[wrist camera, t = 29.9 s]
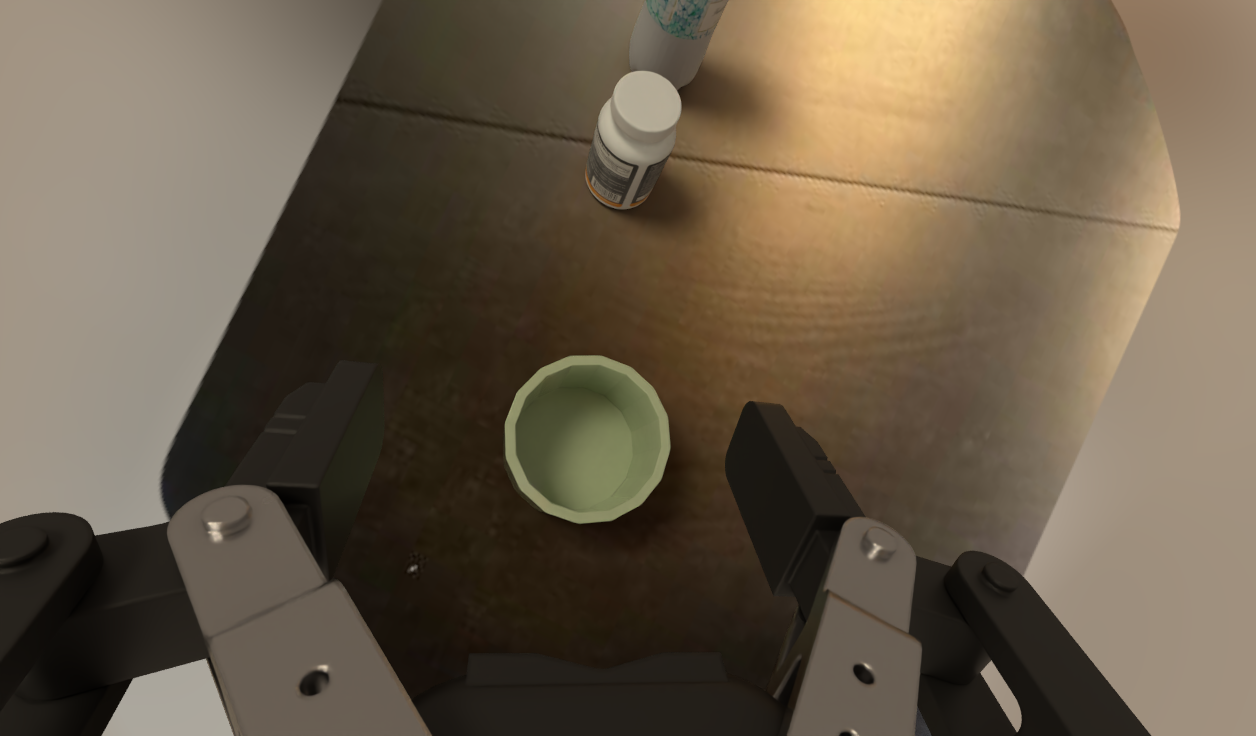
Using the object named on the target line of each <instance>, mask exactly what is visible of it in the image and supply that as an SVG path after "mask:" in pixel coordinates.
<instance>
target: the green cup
mask: <svg viewBox="0 0 1256 736" xmlns="http://www.w3.org/2000/svg"><path fill="white" fill-rule="evenodd" d="M670 448H671V446H670V434H669V422H668V416H667V414H666V412H665V410H664V408H663V405H662V403H661V401H660V399H659V397H658V395H657V393H656V391H655V389H654V388H653V387H652V386H651V385H650V384H649V383H648V382H647V381H646V380H645V379H644V378H642V377H641V376H640V375H639V374H638V373H637V372H636V371H635V370H634V369H633V368H631V367H630V366H627V365H625V364H622V363H619V362H617V361H614V360H612V359H609V358H606V357H604V356H568V357H566V358H564V359H561V360H559V361H557V362H554V363H552V364H550V365H547V366H545V367H543V368H541V369H539V370H538V371H537V372H536V373H535V374H534V375H533V376H532V377H531V378H530V379H529V381H528V382H527V383H526V384H525V385H524V386H523V387H522V388H521V389H520V390H519V391H518V392H517V394H516V396H515V399H514V401H513V404H512V406H511V409H510V411H509V414H508V416H507V419H506V422H505V427H504V434H503V462H504V467H505V469H506V472H507V474H508V476H509V479H510V481H511V483H512V485H513V487H514V489H515V491H516V492H517V493H518V494H519V495H520V496H521V497H522V498H523V499H524V500H525V501H527V502H528V503H529V504H530V505H531V506H532V507H533V508H535V509H536V510H537V511H540V512H543V513H546V514H549V515H552V516H555V517H558V518H561V519H564V520H568V521H571V522H574V523H579V524H581V523H592V522H604V521H611V520H614V519H616V518H618V517H620V516H622V515H623V514H625V513H627V512H629V511H631V510H633V509H635V508H636V507H638V506H640V505H641V504H642V503H643V502H644V501H645V500H646V498H647V497H648V496H649V495H650V493H651V492H652V491H653V490H654V488H655V487H656V486H657V485H658V483H659V482H660V481H661V479H662V476H663V473H664V470H665V466H666V463H667V460H668V456H669V453H670Z"/></svg>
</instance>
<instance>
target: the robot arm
mask: <svg viewBox="0 0 1256 736" xmlns="http://www.w3.org/2000/svg"><path fill="white" fill-rule="evenodd" d="M383 435H384V397H383V371H382V366H381V365H380V364H374V363H364V362H354V361H344V360H341V361H339V362H338V364H337V366H336V367H335V369H334V371H333V372H332V374H331V376H330V377H329V379H328V381H327V382H326V384H324V383H313V382H308V383H306V384H305V385H303V386H301V387H300V388H298V389H297V390H295V391H294V392H292V393H291V394H289V395H287V396H286V397H285V399H284V400H283V402H282V403H281V405H280V406H279V408H278V409H277V411H276V412H275V413H274V418H271V419H270V421H269V422H268V424H267V425H266V427H265V428H264V432H262V433H261V434H260V435H259V437H258V438H257V440H256V441H255V443H254V444H253V446H252V447H251V449H250V450H249V452H248V453H247V455H246V456H245V457H244V459H243V460H242V462H241V463H240V465H239V466H238V468H237V469H236V471H235V472H234V474H233V475H232V476H231V478H230V479H229V481H228V482H227V484H226V485H225V487H222V488H218V489H215V490H212V491H209V492H206V493H204V494H202V495H200V496H198V497H196V498H194V499H193V500H191V501H189V502H188V503H186V504H185V505H184V506H183V507H181V508H180V509H179V510H178V511H177V512H176V513H175V515H174V516H173V517H172V519H171V520H170V522H166V523H163V524H158V525H153V526H149V527H143V528H137V529H131V530H125V531H119V532H114V533H108V534H102V535H96V536H95V535H94V532H93V530H92V528H91V526H90V524H89V523H88V522H87V521H86V520H85V519H83V518H81V517H79V516H76V515H73V514H68V513H56V512H53V513H40V514H33V515H28V516H23V517H19V518H16V519H12V520H9V521H6V522H3V523H1V524H0V736H101V735H102V734H103V731H104V730H105V728H106V727H107V725H108V723H109V721H110V719H111V717H112V716H113V714H114V712H115V710H116V708H117V707H118V705H119V703H120V701H121V699H122V698H123V696H124V694H125V692H126V690H127V689H128V687H129V685H130V683H131V681H132V679H133V678H136V677H139V676H143V675H147V674H150V673H154V672H158V671H161V670H165V669H169V668H172V667H176V666H180V665H183V664H187V663H191V662H194V661H198V660H202V659H205V658H206V660H207V663H208V665H209V668H210V671H211V674H212V676H213V679H214V682H215V685H216V688H217V690H218V693H219V696H220V699H221V701H222V704H223V707H224V710H225V713H226V715H227V718H228V721H229V724H230V726H231V729H232V732H233V734H234V736H915V724H916V713H917V706H918V708H919V710H920V712H921V714H922V716H923V718H924V720H925V722H926V724H927V726H928V728H929V730H930V733H931V735H932V736H1151V735H1150V734H1149V733H1148V731H1147V730H1146V729H1145V727H1144V726H1143V725H1142V724H1141V722H1140V721H1139V720H1138V719H1137V717H1136V716H1135V715H1134V714H1133V712H1132V711H1131V710H1130V709H1129V708H1128V706H1127V705H1126V704H1125V702H1124V701H1123V700H1122V699H1121V697H1120V696H1119V695H1118V694H1117V692H1116V691H1115V690H1114V689H1113V687H1112V686H1111V685H1110V684H1109V682H1108V681H1107V680H1106V679H1105V677H1104V676H1103V675H1102V674H1101V672H1100V671H1099V670H1098V669H1097V667H1096V666H1095V665H1094V664H1093V662H1092V661H1091V660H1090V659H1089V658H1088V656H1087V655H1086V654H1085V653H1084V651H1083V650H1082V649H1081V647H1080V646H1079V645H1078V644H1077V643H1076V641H1075V640H1074V639H1073V637H1072V636H1071V635H1070V634H1069V632H1068V631H1067V630H1066V629H1065V627H1064V626H1063V625H1062V624H1061V622H1060V621H1059V620H1058V619H1057V618H1056V616H1055V615H1054V614H1053V612H1052V611H1051V610H1050V609H1049V607H1048V606H1047V605H1046V604H1045V602H1044V601H1043V600H1042V599H1041V597H1040V596H1039V595H1038V594H1037V593H1036V591H1035V590H1034V589H1033V587H1032V586H1031V585H1030V584H1029V583H1028V581H1027V580H1026V579H1025V578H1024V577H1023V576H1022V575H1021V574H1020V573H1019V572H1017V571H1016V570H1015V569H1014V568H1012V567H1011V566H1010V565H1008V564H1007V563H1005V562H1003V561H1002V560H1000V559H998V558H996V557H994V556H991V555H989V554H986V553H983V552H978V551H966V552H964V553H962V554H961V555H960V556H959V557H958V559H957V560H956V561H955V563H954V564H953V565H952V567H951V566H947V565H944V564H941V563H938V562H934V561H931V560H928V559H924V558H921V557H918V556H915V553H914V551H913V549H912V548H911V546H910V544H909V543H908V542H907V541H906V540H905V539H904V538H903V537H902V536H901V535H900V534H899V533H898V532H896V531H895V530H894V529H892V528H891V527H889V526H887V525H885V524H884V523H882V522H879V521H877V520H874V519H871V518H866V517H865V515H864V514H863V512H862V511H861V509H860V507H859V506H858V504H857V503H856V501H855V500H854V498H853V497H852V495H851V493H850V492H849V490H848V489H847V487H846V486H845V484H844V483H843V481H842V479H841V478H840V476H839V475H838V474H836V470H835V469H834V467H833V465H832V464H831V462H830V461H827V456H826V455H825V453H824V451H823V450H822V448H821V447H820V445H819V444H818V442H817V441H816V440H815V439H814V438H812V437H811V436H810V435H809V434H808V433H807V432H805V431H804V430H803V429H802V428H801V427H796V426H795V425H794V423H793V421H792V420H791V418H790V416H789V415H788V413H787V412H786V410H785V408H784V407H783V406H782V405H781V404H774V403H764V402H754V401H749V402H748V403H746V405H745V406H744V408H743V410H742V413H741V416H740V418H739V421H738V424H737V426H736V429H735V432H734V434H733V437H732V440H731V442H730V445H729V448H728V451H727V454H726V460H725V471H726V477H727V480H728V482H729V485H730V487H731V490H732V492H733V495H734V497H735V500H736V502H737V505H738V507H739V510H740V512H741V515H742V517H743V520H744V523H745V525H746V528H747V530H748V533H749V535H750V538H751V540H752V543H753V545H754V548H755V550H756V553H757V555H758V558H759V560H760V563H761V565H762V568H763V570H764V573H765V575H766V578H767V581H768V583H769V586H770V588H771V591H772V593H773V596H795V597H796V599H797V601H798V604H799V605H798V607H797V608H796V610H795V612H794V614H793V616H792V619H791V622H790V625H789V627H788V630H787V633H786V636H785V639H784V642H783V644H782V647H781V650H780V653H779V656H778V659H777V662H776V664H775V667H774V670H773V673H772V676H771V679H770V681H769V684H768V686H767V689H766V691H764V690H763V689H761V688H759V687H758V686H756V685H754V684H752V683H750V682H748V681H746V680H744V679H741V678H739V677H736V676H734V675H731V674H727V673H726V670H725V667H724V663H723V660H722V656H721V652H663V653H660V654H656V655H653V656H649V657H646V658H642V659H639V660H635V661H632V662H628V663H625V664H621V665H618V666H615V667H611V668H607V669H597V668H593V667H589V666H585V665H581V664H577V663H573V662H569V661H565V660H561V659H557V658H553V657H549V656H545V655H541V654H537V653H482V654H469V660H468V668H467V675H464V676H460V677H457V678H454V679H451V680H448V681H446V682H443V683H441V684H438V685H436V686H434V687H432V688H430V689H428V690H426V691H424V692H423V693H421V694H419V695H417V696H416V697H414V698H413V699H412V700H411V699H410V697H409V696H408V694H407V692H406V691H405V689H404V687H403V686H402V684H401V682H400V681H399V679H398V677H397V676H396V674H395V672H394V670H393V669H392V667H391V665H390V664H389V662H388V660H387V659H386V657H385V655H384V654H383V652H382V650H381V648H380V647H379V645H378V643H377V642H376V640H375V638H374V637H373V635H372V633H371V632H370V630H369V628H368V627H367V625H366V623H365V621H364V620H363V618H362V616H361V615H360V613H359V611H358V610H357V608H356V606H355V605H354V603H353V601H352V600H351V598H350V596H349V594H348V593H347V591H346V590H345V588H344V587H343V585H342V584H341V583H340V582H339V581H338V580H337V579H335V578H334V579H333V576H334V573H335V571H336V568H337V566H338V563H339V560H340V558H341V555H342V552H343V550H344V547H345V544H346V542H347V539H348V536H349V534H350V531H351V529H352V526H353V523H354V521H355V518H356V515H357V513H358V510H359V507H360V505H361V502H362V499H363V497H364V494H365V491H366V489H367V486H368V484H369V481H370V478H371V476H372V473H373V470H374V468H375V465H376V462H377V460H378V457H379V454H380V451H381V447H382V442H383ZM991 660H992V662H993V663H994V665H995V666H996V668H997V670H998V671H999V673H1000V674H1001V676H1002V677H1003V679H1004V680H1005V682H1006V683H1007V685H1008V687H1009V688H1010V690H1011V691H1012V693H1013V694H1014V696H1015V698H1016V699H1017V701H1018V704H1019V706H1020V710H1021V715H1022V723H1021V727H1020V729H1019V731H1018V732H1016V730H1015V729H1014V727H1013V726H1012V724H1011V722H1010V721H1009V719H1008V717H1007V716H1006V714H1005V712H1004V711H1003V709H1002V708H1001V706H1000V704H999V703H998V701H997V699H996V698H995V696H994V695H993V693H992V691H991V690H990V688H989V687H988V685H987V683H986V682H985V680H984V678H983V677H982V675H981V673H980V672H981V671H982V670H983V669H984V668H985V666H986V665H987V664H988V663H989V662H990V661H991Z"/></svg>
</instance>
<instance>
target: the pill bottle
mask: <svg viewBox="0 0 1256 736" xmlns="http://www.w3.org/2000/svg"><path fill="white" fill-rule="evenodd" d="M680 115H681V100H680V96H679V94H678V92H677V90H676V89H675V87H674V86H673V85H672V84H671V83H670V82H669V81H668V80H667V79H666V78H664V77H662V76H661V75H659V74H656V73H654V72H650V71H634V72H631V73H629V74H627V75H625V76H624V77H622V78H621V79H620V80H619V82H618V83H617V85H616V87H615V89H614V92H613V95H612V98H610V99H609V100H608V101H607V102H606V103H605V105H604V106H603V107H602V109H601V112H600V114H599V117H598V121H597V125H596V129H595V133H594V137H593V141H592V145H591V148H590V152H589V156H588V160H587V165H586V171H585V176H586V182H587V185H588V187H589V189H590V191H591V193H592V194H593V195H594V196H595V197H596V198H597V199H598V200H599V201H600V202H602V203H603V204H605V205H607V206H609V207H612V208H615V209H630V208H633V207H636V206H638V205H640V204H641V203H643V202H644V201H645V200H646V199H647V197H648V196H649V194H650V193H651V191H652V189H653V187H654V185H655V183H656V182H657V180H658V178H659V176H660V173H661V172H662V169H663V167H664V165H665V163H666V161H667V159H668V158H669V156H670V154H671V152H672V150H673V147H674V144H675V140H676V125H677V122H678V120H679V118H680Z"/></svg>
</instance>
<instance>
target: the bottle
mask: <svg viewBox="0 0 1256 736" xmlns="http://www.w3.org/2000/svg"><path fill="white" fill-rule="evenodd" d="M727 2H728V0H645V1H644V4H643V6H642V9H641V11H640V14H639V16H638V19H637V22H636V24H635V27H634V30H633V33H632V36H631V40H630V52H629V63H630V69H631V71H632V72H634V71H650V72H654V73H656V74H659V75H661V76H662V77H664V78H666V79H667V80H668V81H669V82H670V83H671V84H672V85H673V86H674V87H675V89H676V90H678V89H679V88H680V87H682V86H686V85H687V84H689V83H690V82H691V81H692V79H693V78H694V77H695V75H696V73H697V71H698V69H699V67H700V65H701V63H702V61H703V58H704V56H705V53H706V50H707V48H708V45H709V42H710V39H711V37H712V34H713V32H714V29H715V28H716V26H717V23H718V21H719V19H720V17H721V15H722V13H723V11H724V8H725V6H726V4H727Z"/></svg>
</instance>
